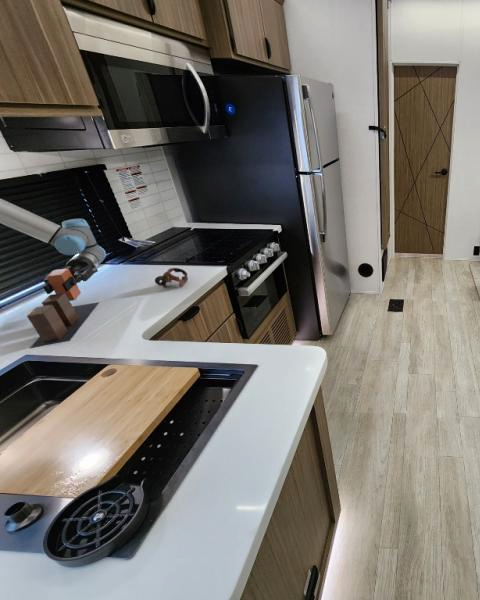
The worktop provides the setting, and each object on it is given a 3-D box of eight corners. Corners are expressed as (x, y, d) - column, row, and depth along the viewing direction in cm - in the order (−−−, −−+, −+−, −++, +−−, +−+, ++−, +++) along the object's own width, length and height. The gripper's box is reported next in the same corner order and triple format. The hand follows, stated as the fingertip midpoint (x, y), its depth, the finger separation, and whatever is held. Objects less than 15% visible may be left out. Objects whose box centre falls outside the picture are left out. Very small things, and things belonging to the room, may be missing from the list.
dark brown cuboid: (43, 343, 105) (25, 316, 100) (51, 333, 110) (35, 307, 105) (59, 339, 106) (43, 313, 101) (67, 330, 111) (52, 304, 106)
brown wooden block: (56, 328, 112) (40, 302, 107) (63, 319, 117) (49, 295, 112) (71, 325, 114) (57, 300, 109) (78, 317, 118) (64, 292, 114)
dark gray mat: (67, 308, 125) (67, 307, 125) (100, 303, 129) (99, 302, 128) (30, 350, 103) (28, 348, 102) (70, 342, 106) (69, 340, 106)
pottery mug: (176, 279, 148) (180, 264, 145) (190, 292, 146) (194, 277, 143) (147, 284, 137) (151, 268, 134) (161, 297, 135) (166, 281, 132)
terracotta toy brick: (59, 302, 117) (45, 276, 112) (66, 295, 122) (53, 270, 117) (74, 300, 118) (61, 274, 113) (81, 293, 123) (68, 268, 118)
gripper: (112, 269, 136) (92, 293, 117) (59, 277, 130) (29, 303, 112) (104, 252, 133) (82, 274, 114) (49, 259, 127) (16, 283, 108)
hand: (56, 289), depth 113 cm, fingers closed on terracotta toy brick, 4 cm apart
